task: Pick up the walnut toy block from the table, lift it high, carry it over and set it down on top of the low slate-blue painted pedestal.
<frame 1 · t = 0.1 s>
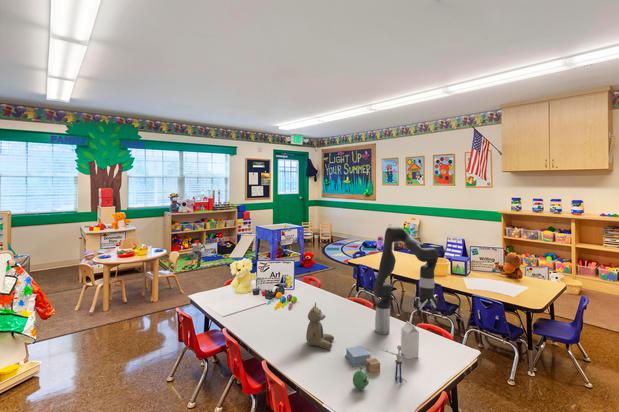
hand: (426, 315, 168), 29 cm above the table, fingers open, 8 cm apart
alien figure: (399, 382, 158), on the table
pedestal: (357, 359, 178), on the table
milk carton: (409, 355, 184), on the table
alien toy: (360, 389, 153), on the table
walnut block: (372, 370, 168), on the table
bear: (319, 344, 196), on the table
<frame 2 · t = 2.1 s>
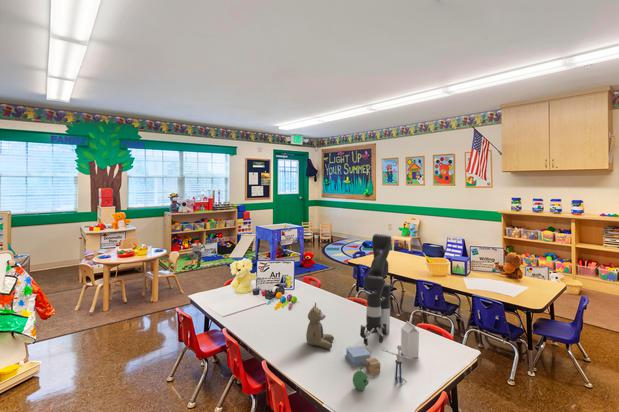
hand: (373, 343, 167), 15 cm above the table, fingers open, 8 cm apart
nothing on the table moved.
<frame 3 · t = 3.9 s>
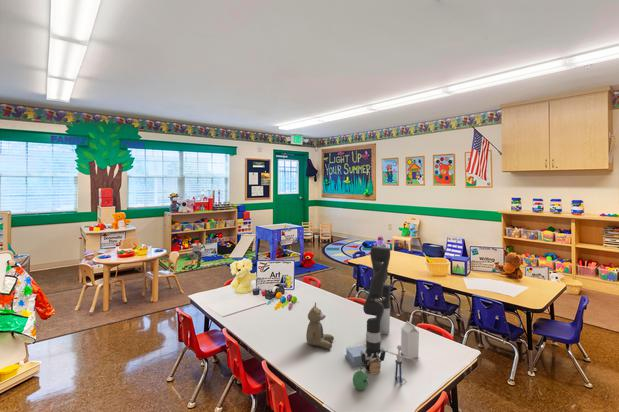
hand: (372, 369, 168), 1 cm above the table, fingers closed on walnut block, 5 cm apart
walnut block: (372, 370, 168), on the table, touching gripper
everything else where it was.
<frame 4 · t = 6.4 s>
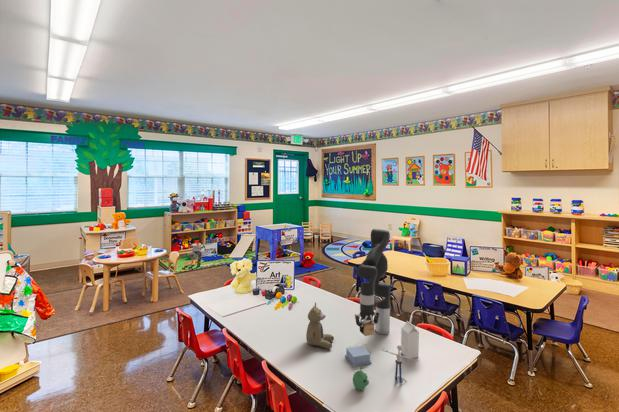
hand: (366, 331, 172), 19 cm above the table, fingers closed on walnut block, 5 cm apart
walnut block: (367, 332, 172), point 18 cm above the table, touching gripper
everything else where it was.
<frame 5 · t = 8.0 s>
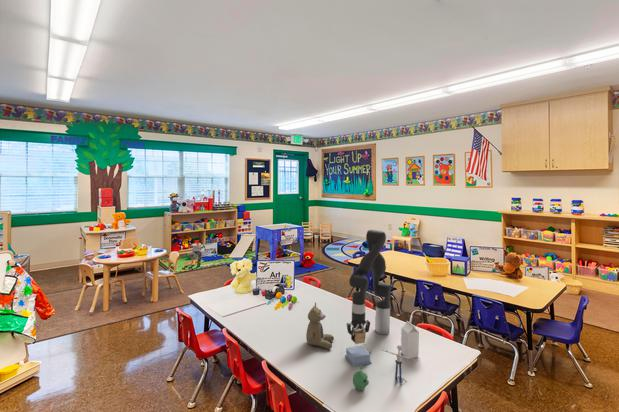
hand: (358, 340, 178), 11 cm above the table, fingers closed on walnut block, 5 cm apart
walnut block: (358, 341, 178), point 11 cm above the table, touching gripper
everything else where it was.
when the fingers open (7 cm above the table, at t = 9.2 s): walnut block drops 1 cm, resting on pedestal.
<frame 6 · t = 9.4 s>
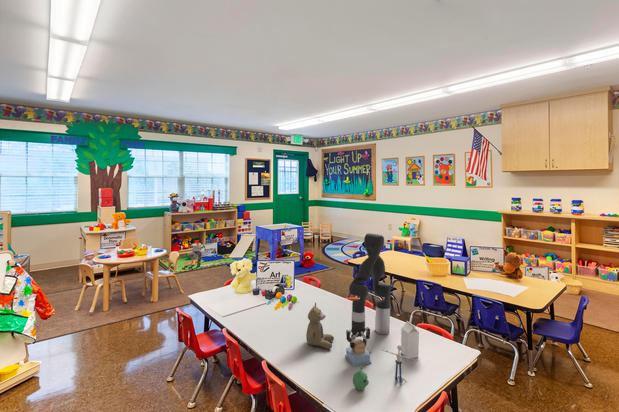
hand: (358, 347, 178), 7 cm above the table, fingers open, 7 cm apart
walnut block: (358, 351, 178), point 5 cm above the table, touching pedestal
everything else where it was.
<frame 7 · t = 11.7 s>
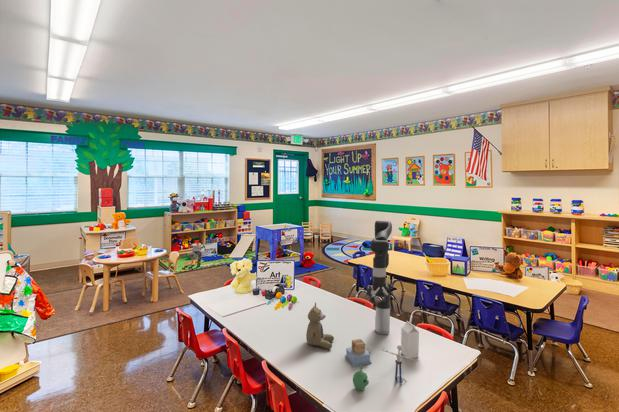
hand: (378, 301, 182), 31 cm above the table, fingers open, 8 cm apart
nothing on the table moved.
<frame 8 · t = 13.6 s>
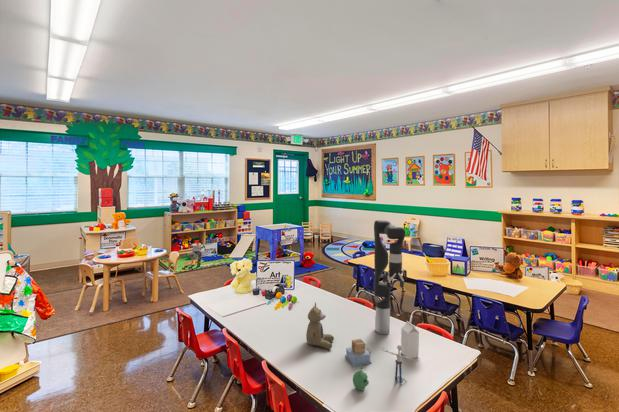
hand: (395, 287, 186), 38 cm above the table, fingers open, 8 cm apart
nothing on the table moved.
at the end: walnut block inside the target area on the pedestal (0.1 cm from its centre), point 5.0 cm above the pedestal's base; walnut block tilted 0°; the gripper is holding nothing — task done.
